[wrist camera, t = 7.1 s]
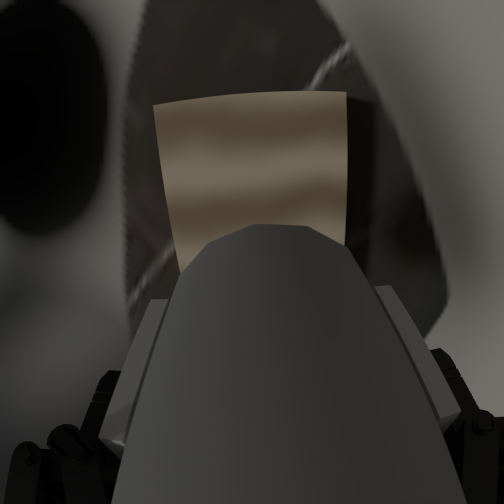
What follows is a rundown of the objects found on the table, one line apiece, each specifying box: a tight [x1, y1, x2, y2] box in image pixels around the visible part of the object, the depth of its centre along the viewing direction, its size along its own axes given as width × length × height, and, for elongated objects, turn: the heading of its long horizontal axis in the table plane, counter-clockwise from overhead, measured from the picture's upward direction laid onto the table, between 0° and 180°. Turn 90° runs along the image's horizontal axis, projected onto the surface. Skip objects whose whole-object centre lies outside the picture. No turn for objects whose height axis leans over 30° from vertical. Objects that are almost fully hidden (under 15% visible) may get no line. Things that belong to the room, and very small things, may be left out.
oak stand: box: [153, 91, 347, 274], centre depth 25 cm, size 18×14×4 cm
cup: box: [111, 224, 467, 504], centre depth 8 cm, size 8×8×10 cm
